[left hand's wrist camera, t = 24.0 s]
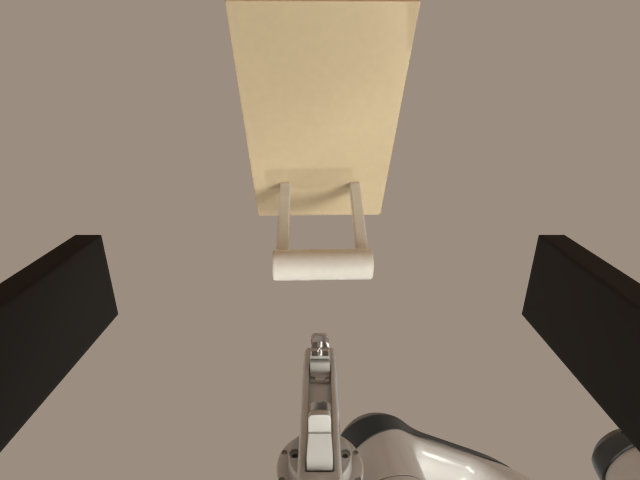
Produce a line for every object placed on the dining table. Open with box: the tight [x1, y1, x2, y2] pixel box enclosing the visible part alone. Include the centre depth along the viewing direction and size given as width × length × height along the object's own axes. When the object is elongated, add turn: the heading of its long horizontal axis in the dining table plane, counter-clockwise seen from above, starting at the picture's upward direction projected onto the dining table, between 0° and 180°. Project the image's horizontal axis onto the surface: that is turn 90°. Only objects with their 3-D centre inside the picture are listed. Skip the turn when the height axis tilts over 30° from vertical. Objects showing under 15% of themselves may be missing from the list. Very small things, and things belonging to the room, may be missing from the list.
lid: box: [225, 0, 420, 280], centre depth 23 cm, size 15×9×8 cm
